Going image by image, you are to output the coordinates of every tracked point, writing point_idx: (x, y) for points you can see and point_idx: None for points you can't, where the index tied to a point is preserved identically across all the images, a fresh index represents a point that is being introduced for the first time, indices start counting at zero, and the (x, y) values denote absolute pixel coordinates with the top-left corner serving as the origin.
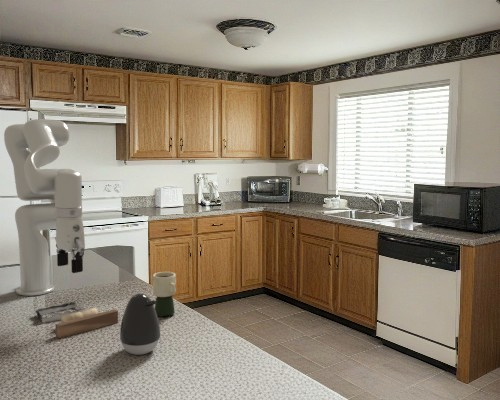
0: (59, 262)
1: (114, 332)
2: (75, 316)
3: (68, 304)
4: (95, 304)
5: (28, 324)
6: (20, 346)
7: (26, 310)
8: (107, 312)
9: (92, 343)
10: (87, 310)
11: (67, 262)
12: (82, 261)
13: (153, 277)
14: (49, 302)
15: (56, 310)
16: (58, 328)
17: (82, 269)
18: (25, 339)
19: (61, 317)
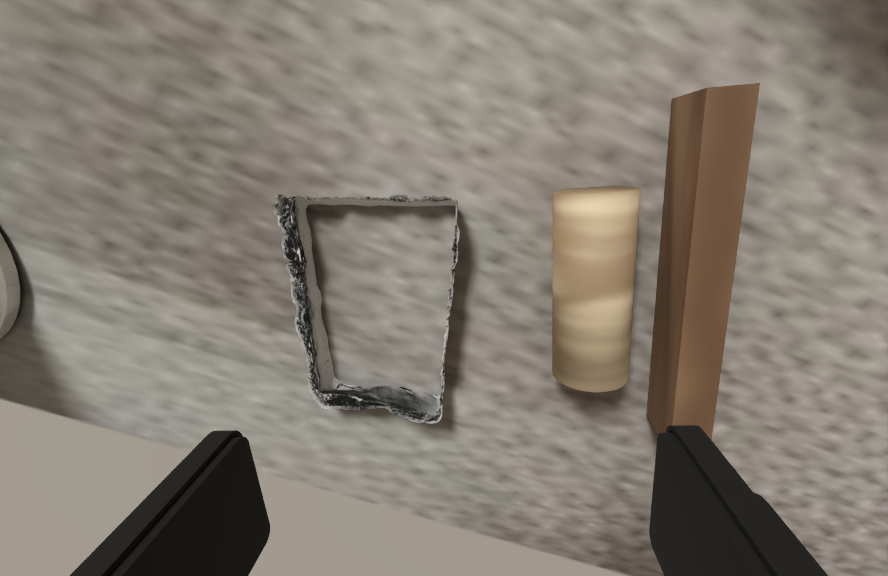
0: (243, 566)
1: (839, 185)
2: (623, 334)
3: (297, 236)
4: (317, 72)
5: (420, 442)
6: (639, 534)
7: (232, 390)
8: (725, 159)
9: (867, 334)
10: (606, 255)
11: (228, 459)
12: (800, 555)
13: None
14: (159, 272)
15: (317, 298)
16: None
17: (705, 440)
18: (583, 502)
19: (565, 384)
